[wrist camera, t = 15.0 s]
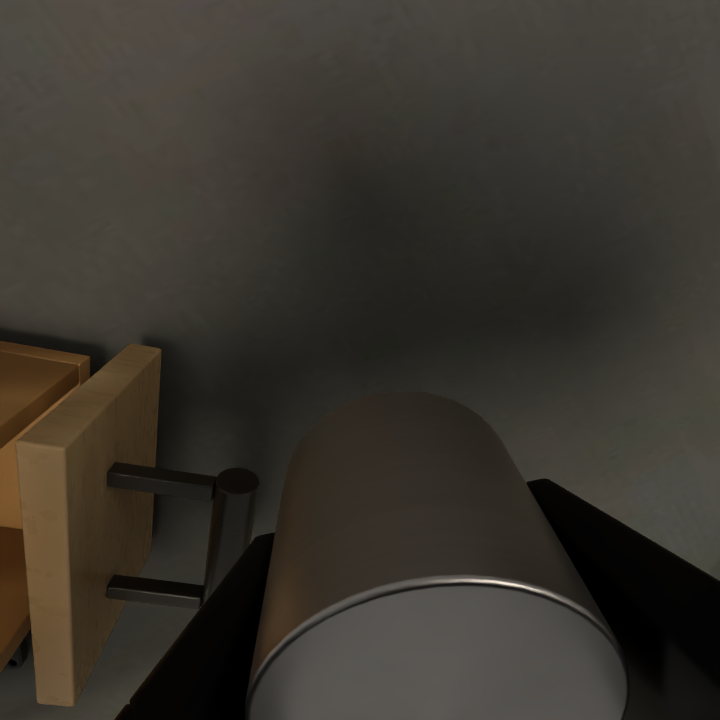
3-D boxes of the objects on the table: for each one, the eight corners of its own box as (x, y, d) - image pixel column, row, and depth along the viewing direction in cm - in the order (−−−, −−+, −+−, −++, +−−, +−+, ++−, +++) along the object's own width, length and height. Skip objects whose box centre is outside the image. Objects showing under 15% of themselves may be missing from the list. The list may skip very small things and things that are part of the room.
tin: (518, 552, 11) (630, 796, 7) (316, 590, 11) (300, 850, 7) (499, 366, 9) (636, 541, 5) (255, 417, 9) (184, 627, 5)
